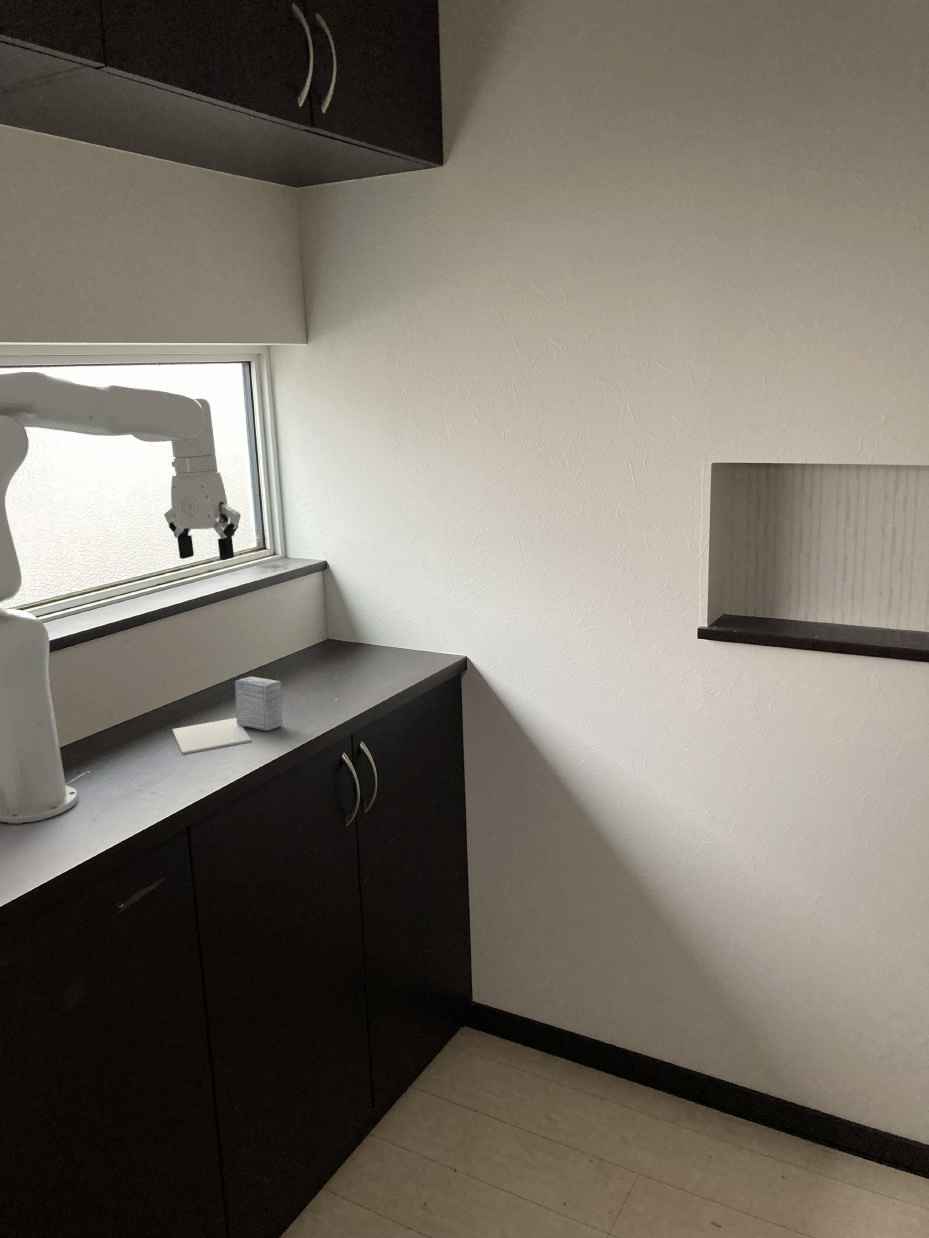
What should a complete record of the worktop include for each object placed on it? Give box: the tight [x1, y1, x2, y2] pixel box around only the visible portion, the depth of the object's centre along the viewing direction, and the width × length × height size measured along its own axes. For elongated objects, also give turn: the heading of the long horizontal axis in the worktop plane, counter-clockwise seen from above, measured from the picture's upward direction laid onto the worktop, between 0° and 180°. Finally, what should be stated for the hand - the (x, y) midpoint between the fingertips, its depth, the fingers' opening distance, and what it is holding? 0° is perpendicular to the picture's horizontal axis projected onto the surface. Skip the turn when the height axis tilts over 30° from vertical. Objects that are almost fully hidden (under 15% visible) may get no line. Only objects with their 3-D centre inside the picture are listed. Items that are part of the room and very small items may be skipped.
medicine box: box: [234, 676, 284, 732], centre depth 190 cm, size 8×4×9 cm, turn 56°
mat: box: [172, 717, 252, 755], centre depth 187 cm, size 12×14×1 cm
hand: (206, 558), depth 191 cm, fingers open, 9 cm apart
